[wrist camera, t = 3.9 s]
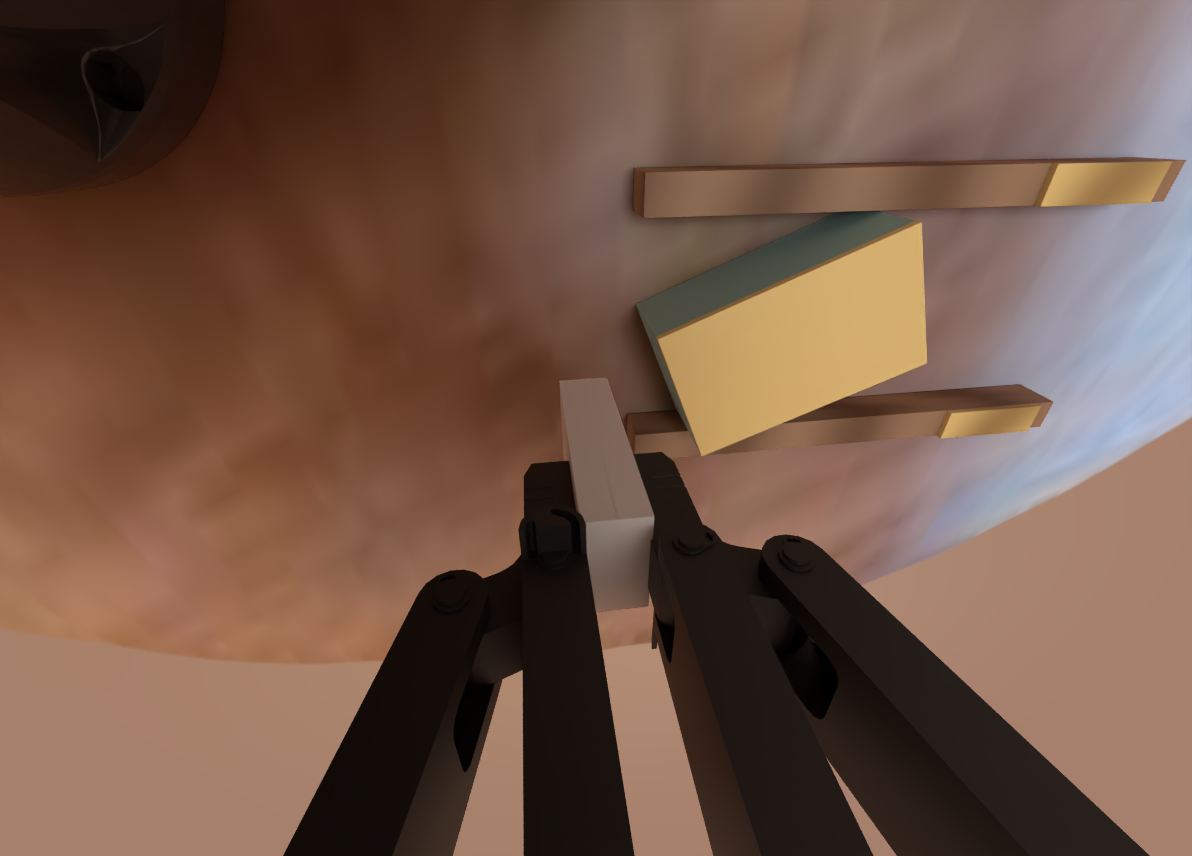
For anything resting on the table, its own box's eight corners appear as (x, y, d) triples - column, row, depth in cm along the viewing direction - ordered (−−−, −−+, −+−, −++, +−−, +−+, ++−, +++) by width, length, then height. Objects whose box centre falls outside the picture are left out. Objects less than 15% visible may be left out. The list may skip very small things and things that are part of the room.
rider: (674, 406, 25) (701, 456, 22) (634, 302, 22) (657, 339, 18) (863, 325, 24) (927, 363, 20) (849, 204, 21) (921, 222, 17)
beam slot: (626, 438, 26) (635, 464, 24) (634, 167, 19) (647, 172, 17) (1008, 408, 28) (1045, 429, 26) (1133, 157, 21) (1194, 160, 19)
